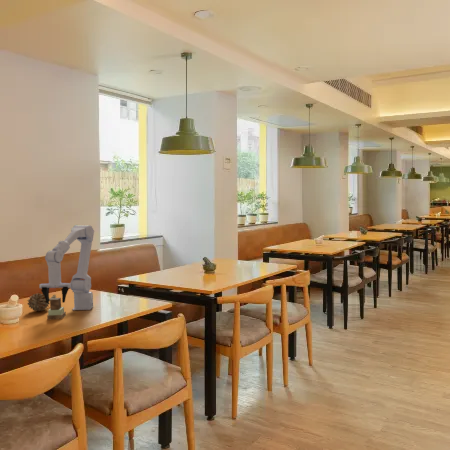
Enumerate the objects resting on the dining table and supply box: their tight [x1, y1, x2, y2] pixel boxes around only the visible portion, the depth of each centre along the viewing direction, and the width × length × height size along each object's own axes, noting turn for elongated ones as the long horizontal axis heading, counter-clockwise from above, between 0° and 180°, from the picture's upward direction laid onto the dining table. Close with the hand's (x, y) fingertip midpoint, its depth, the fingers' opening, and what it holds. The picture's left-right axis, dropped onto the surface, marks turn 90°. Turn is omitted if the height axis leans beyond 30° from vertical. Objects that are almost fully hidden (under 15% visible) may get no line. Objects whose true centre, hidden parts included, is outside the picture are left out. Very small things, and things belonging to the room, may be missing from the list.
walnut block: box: [49, 297, 62, 310], centre depth 237 cm, size 4×4×5 cm
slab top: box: [47, 306, 65, 315], centre depth 238 cm, size 6×6×2 cm
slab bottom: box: [46, 311, 67, 321], centre depth 238 cm, size 7×7×2 cm
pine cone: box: [26, 292, 57, 312], centre depth 255 cm, size 22×10×10 cm, turn 172°
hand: (55, 302), depth 237 cm, fingers open, 7 cm apart
